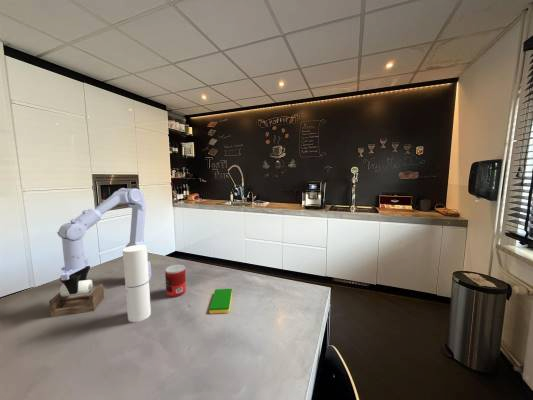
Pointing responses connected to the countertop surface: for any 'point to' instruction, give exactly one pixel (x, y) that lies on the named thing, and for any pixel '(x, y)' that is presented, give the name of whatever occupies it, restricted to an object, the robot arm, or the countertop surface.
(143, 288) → the cylindrical container
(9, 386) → the countertop surface
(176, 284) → the canned food
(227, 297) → the dish sponge
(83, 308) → the holder
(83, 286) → the roll
